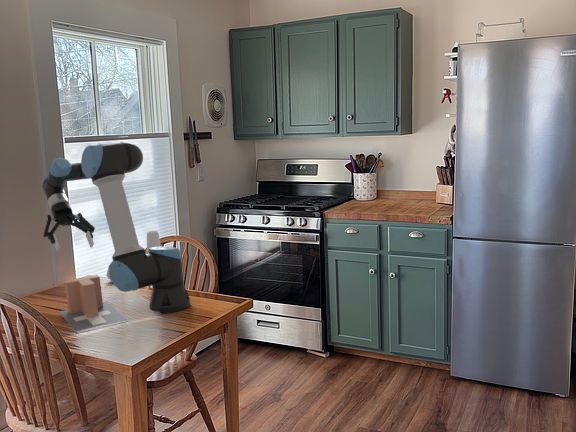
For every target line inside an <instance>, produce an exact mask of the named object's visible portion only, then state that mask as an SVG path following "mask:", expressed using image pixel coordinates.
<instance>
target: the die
mask: <svg viewBox="0 0 576 432" xmlns="http://www.w3.org/2000/svg"><path fill="white" fill-rule="evenodd" d="M105 276H106V278H108V279H109V280H110V281H111V282H112V280H111V278H110V275H109V266H108V267H107V271H106V274H105Z"/></svg>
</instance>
